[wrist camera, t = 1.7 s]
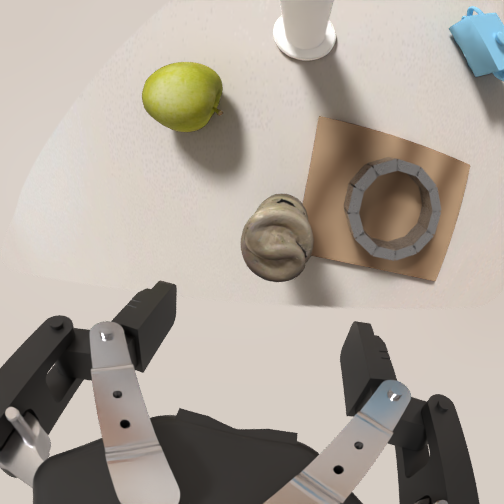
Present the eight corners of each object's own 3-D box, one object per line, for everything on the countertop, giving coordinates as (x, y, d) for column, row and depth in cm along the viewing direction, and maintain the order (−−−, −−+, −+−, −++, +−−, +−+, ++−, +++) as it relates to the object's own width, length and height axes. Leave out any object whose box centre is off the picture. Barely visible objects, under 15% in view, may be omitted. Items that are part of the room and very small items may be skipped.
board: (466, 164, 27) (470, 165, 26) (432, 277, 33) (435, 281, 33) (318, 116, 29) (319, 116, 28) (293, 248, 35) (292, 251, 34)
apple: (224, 141, 32) (202, 141, 24) (156, 123, 32) (121, 121, 24) (244, 79, 28) (229, 62, 21) (174, 65, 29) (143, 49, 21)
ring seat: (438, 173, 28) (450, 177, 25) (414, 257, 32) (423, 267, 29) (355, 147, 29) (361, 148, 26) (335, 239, 33) (338, 248, 30)
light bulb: (258, 184, 33) (229, 217, 19) (306, 180, 32) (313, 211, 18) (263, 230, 35) (240, 292, 21) (309, 227, 34) (316, 289, 20)
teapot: (506, 92, 22) (539, 89, 15) (482, 101, 24) (515, 98, 17) (467, 15, 19) (493, -1, 12) (439, 20, 21) (465, 2, 14)
